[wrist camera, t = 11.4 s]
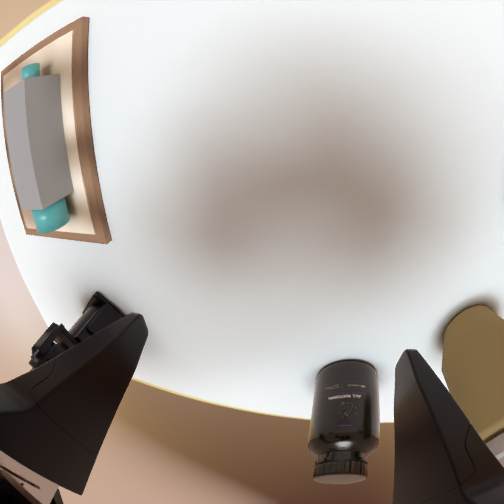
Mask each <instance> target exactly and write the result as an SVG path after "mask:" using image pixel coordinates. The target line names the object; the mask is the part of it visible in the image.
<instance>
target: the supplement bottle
mask: <svg viewBox="0 0 504 504" xmlns="http://www.w3.org/2000/svg"><path fill="white" fill-rule="evenodd" d="M379 440H380V412H379V388H378V377H377V373H376V371H375V370H374V368H373V367H371V366H370V365H368V364H366V363H363V362H360V361H341V362H337V363H333V364H331V365H329V366H327V367H325V368H324V369H323V370H322V371H321V372H320V373H319V374H318V376H317V378H316V384H315V392H314V401H313V408H312V416H311V423H310V430H309V437H308V448H309V450H310V452H311V453H312V454H313V455H314V456H315V457H317V458H318V460H317V461H315V465H314V467H315V469H314V475H313V479H314V480H315V481H317V482H320V483H328V484H347V483H354V482H359V481H362V480H364V479H366V477H367V471H368V465H369V460H368V459H367V458H366V457H367V456H368V455H370V454H371V453H373V452H374V450H375V449H376V448H377V446H378V444H379Z"/></svg>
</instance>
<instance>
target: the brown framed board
mask: <svg viewBox="0 0 504 504" xmlns="http://www.w3.org/2000/svg"><path fill="white" fill-rule="evenodd" d="M88 28H89V17H81V18H79V19H77V20H76V21H74V22H72V23H70V24H68V25H67V26H65V27H63V28H62V29H60V30H58V31H57V32H55V33H53V34H52V35H50V36H49V37H47V38H45V39H44V40H42V41H41V42H39V43H38V44H37V45H35V46H34V47H32V48H31V49H29V50H28V51H27V52H25V53H24V54H23V55H21V56H20V57H19V58H17V59H16V60H15V61H14V62H12V63H11V64H10V65H9V66H7V67H6V68H5V69H4V70H3V71H2V72H1V99H2V117H3V128H4V137H5V144H6V151H7V157H8V163H9V169H10V174H11V179H12V183H13V188H14V192H15V196H16V200H17V204H18V208H19V211H20V215H21V218H22V221H23V225H24V228H25V231H26V234H28V235H36V236H44V237H52V238H60V239H68V240H76V241H85V242H93V243H101V244H107V243H109V242H110V241H111V236H110V232H109V228H108V224H107V219H106V215H105V210H104V206H103V201H102V196H101V191H100V186H99V180H98V174H97V168H96V162H95V155H94V148H93V140H92V131H91V122H90V110H89V95H88ZM33 63H40V76H44V75H53V74H60V86H61V104H62V116H63V126H64V134H65V142H66V149H67V156H68V162H69V167H70V173H71V178H72V183H73V188H74V192H72V193H71V194H69V195H67V196H65V200H66V204H67V208H68V212H69V216H70V221H69V222H68V223H67V224H66V225H64V226H63V227H61V228H59V229H57V230H55V231H52V232H49V233H45V234H39V233H38V232H37V229H36V226H35V223H34V219H33V216H32V212H31V210H21V207H20V203H19V199H18V195H17V191H16V187H15V182H14V178H13V173H12V168H11V162H10V157H9V150H8V144H7V136H6V127H5V116H4V100H3V93H5V92H6V91H7V90H9V89H10V88H11V87H13V86H14V85H16V84H17V83H18V82H20V81H21V69H22V68H23V67H25V66H27V65H29V64H33Z"/></svg>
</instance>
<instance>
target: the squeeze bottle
mask: <svg viewBox="0 0 504 504" xmlns="http://www.w3.org/2000/svg"><path fill="white" fill-rule="evenodd" d="M442 373H443V375H444V378H445V381H446V383H447V386H448V389H449V392H450V394H451V395H452V397H453V398H454V400H455V401H456V402H457V404H458V405H459V407H460V408H461V409H462V411H463V412H464V414H465V415H466V417H467V418H468V420H469V421H470V423H471V424H472V425H473V427H474V428H475V430H476V431H477V433H478V434H479V436H480V437H481V439H482V440H483V441H484V443H485V444H486V445H487V447H488V448H489V449H490V450H491V452H492V453H493V454H494V455H495V457H496V458H497V459H498V461H499V462H500V463H501V464H502V466H503V467H504V320H503V319H502V318H501V317H499V316H498V315H497V314H496V313H494V312H493V311H492V310H490V309H489V308H488V307H486V306H484V305H476V306H473V307H470V308H467V309H466V310H464V311H463V312H461V313H460V314H458V315H457V316H456V317H455V318H454V319H453V320H452V321H451V322H450V323H449V325H448V327H447V328H446V330H445V333H444V341H443V359H442Z"/></svg>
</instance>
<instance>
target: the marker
mask: <svg viewBox="0 0 504 504" xmlns="http://www.w3.org/2000/svg"><path fill="white" fill-rule="evenodd" d="M3 100H4V116H5V127H6V136H7V144H8V150H9V157H10V162H11V168H12V173H13V178H14V182H15V187H16V191H17V195H18V199H19V203H20V207H21V210H31V212H32V216H33V219H34V223H35V226H36V229H37V232H38V233H39V234H45V233H49V232H52V231H55V230H57V229H59V228H61V227H63V226H64V225H66V224H67V223H68V222H69V221H70V216H69V212H68V208H67V204H66V200H65V196H67V195H69V194H71V193H72V192H74V188H73V183H72V178H71V173H70V167H69V162H68V156H67V149H66V142H65V134H64V126H63V116H62V104H61V86H60V74H53V75H44V76H40V63H33V64H29V65H27V66H25V67H23V68H22V69H21V81H20V82H18V83H17V84H16V85H14V86H13V87H11V88H10V89H9V90H7V91H6V92H5V93H3Z"/></svg>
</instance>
